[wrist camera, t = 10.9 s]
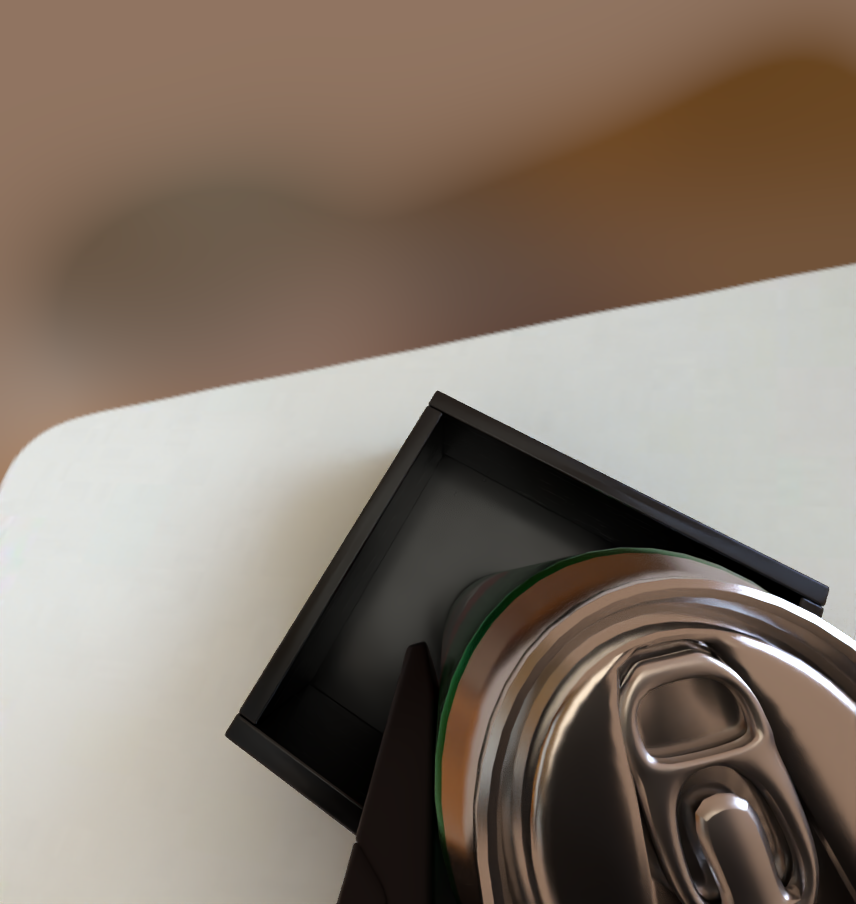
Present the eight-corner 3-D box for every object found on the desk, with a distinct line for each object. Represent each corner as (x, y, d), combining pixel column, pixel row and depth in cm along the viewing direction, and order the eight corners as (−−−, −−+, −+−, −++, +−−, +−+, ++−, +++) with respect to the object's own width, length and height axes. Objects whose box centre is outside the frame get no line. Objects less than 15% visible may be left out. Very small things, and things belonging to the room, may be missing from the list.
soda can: (460, 740, 14) (527, 1457, 2) (429, 588, 15) (381, 599, 4) (603, 706, 14) (1292, 1241, 3) (557, 558, 16) (862, 489, 4)
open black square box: (599, 903, 13) (689, 1091, 8) (292, 686, 15) (222, 736, 10) (714, 584, 16) (831, 587, 11) (438, 439, 18) (436, 389, 13)
